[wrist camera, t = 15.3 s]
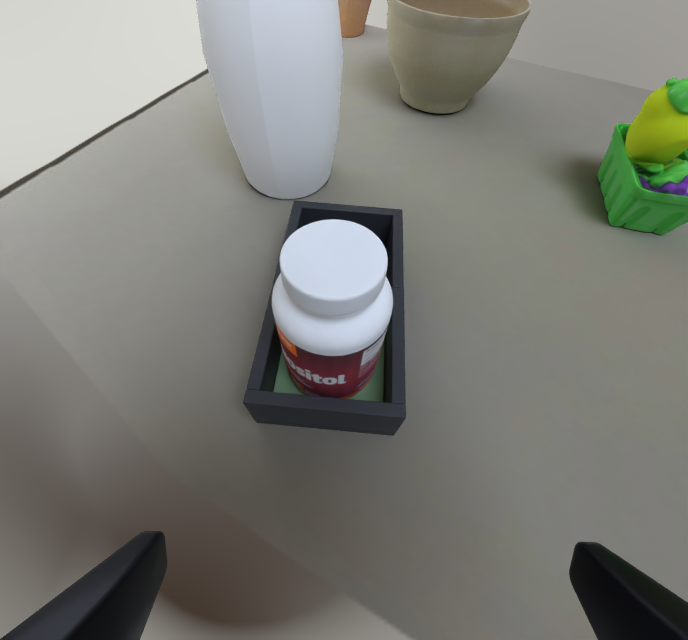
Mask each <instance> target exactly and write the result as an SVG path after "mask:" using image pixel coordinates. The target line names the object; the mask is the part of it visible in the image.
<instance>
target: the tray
mask: <svg viewBox="0 0 688 640" xmlns="http://www.w3.org/2000/svg"><path fill="white" fill-rule="evenodd" d="M331 219H337V220H346V221H351V222H354V223H357V224H360V225H362V226H364V227H366V228H368V229H369V230H371V231H372V232H373V233H374V234H375V235H376V236H377V237H378V238H379V239H380V240H381V242H382V243H383V245H384V247H385V249H386V252H387V257H388V265H387V272H386V277H387V279H388V281H389V284H390V286H391V289H392V294H393V309H392V314H391V317H390V321H389V325H388V328H387V331H386V334H385V337H384V341H383V344H382V347H381V351H380V354H379V357H378V361H377V364H376V368H375V371H374V374H373V376H372V378H371V380H370V382H369V383H368V385H367V386H366V387H365V388H364V389H363V390H362V391H361V392H360V393H359V394H357V395H356V396H354V397H352V398H350V399H343V398H332V397H321V396H311V395H305V394H303V393H302V392H301V391H300V390H299V389H298V388H297V387H296V386H295V385H294V383H293V382H292V380H291V378H290V376H289V373H288V370H287V366H286V362H285V358H284V354H283V350H282V346H281V342H280V338H279V335H278V331H277V326H276V323H275V318H274V314H273V309H272V293H273V288H274V285H275V282H276V280H277V278H278V276H279V275H280V273H281V269H280V258H279V262H278V266H277V270H276V274H275V278H274V282H273V287H272V290H271V294H270V298H269V302H268V306H267V310H266V314H265V318H264V322H263V326H262V330H261V334H260V338H259V342H258V346H257V350H256V354H255V358H254V362H253V366H252V370H251V374H250V378H249V382H248V385H247V390H246V393H245V397H244V401H243V403H244V405H245V406H246V408H247V409H248V411H249V412H250V413H251V415H252V416H253V418H254V419H255V421H256V422H257V423H267V424H277V425H288V426H299V427H309V428H320V429H330V430H341V431H351V432H362V433H372V434H383V435H394V434H395V433H396V431H397V430H398V428H399V427H400V425H401V424H402V422H403V421H404V419H405V418H406V405H405V403H406V402H405V340H404V289H403V288H404V283H403V221H402V210H400V209H388V208H376V207H364V206H353V205H341V204H329V203H317V202H305V201H294V203H293V207H292V211H291V215H290V219H289V223H288V226H287V230H286V234H285V238H284V242H283V245H284V243H285V241H286V240H287V239H288V238H289V237H290V235H292V234H293V233H294V232H295V231H296V230H298V229H300V228H301V227H303V226H305V225H308V224H310V223H313V222H317V221H321V220H331ZM282 247H283V246H282Z"/></svg>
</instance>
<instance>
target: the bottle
mask: <svg viewBox="0 0 688 640" xmlns="http://www.w3.org/2000/svg"><path fill="white" fill-rule="evenodd" d="M196 4H197V12H198V19H199V26H200V33H201V41H202V48H203V54H204V57H205V60H206V64H207V67H208V70H209V74H210V77H211V80H212V83H213V87H214V90H215V93H216V96H217V100H218V103H219V106H220V109H221V113H222V116H223V119H224V122H225V126H226V128H227V131H228V134H229V137H230V139H231V141H232V144H233V146H234V149H235V151H236V153H237V156H238V158H239V161H240V163H241V166H242V168H243V170H244V173H245V175H246V178H247V180H248V182H249V183H250V184H251V185H252V186H253V187H254V188H255V189H257V190H258V191H259V192H261V193H263V194H265V195H267V196H269V197H274V198H279V199H297V198H301V197H306V196H308V195H310V194H312V193H315V192H317V191H318V190H319V189H320V188H321V187H322V186H323V185H324V184H325V183H326V182H327V180H328V178H329V176H330V174H331V169H332V163H333V157H334V151H335V145H336V139H337V133H338V127H339V112H340V97H341V82H342V67H343V48H342V37H341V27H340V16H339V6H338V0H196Z"/></svg>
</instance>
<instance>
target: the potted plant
mask: <svg viewBox="0 0 688 640" xmlns="http://www.w3.org/2000/svg"><path fill="white" fill-rule="evenodd" d="M370 3H371V0H338V6H339V16H340V27H341V36H342V37H356V36H359V35H361V34H363V32H364V27H365V22H366V18H367V14H368V11H369V6H370Z"/></svg>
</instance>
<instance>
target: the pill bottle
mask: <svg viewBox="0 0 688 640" xmlns="http://www.w3.org/2000/svg"><path fill="white" fill-rule="evenodd" d="M387 265H388V257H387V252H386V249H385V247H384V245H383V243H382V242H381V240H380V239H379V238H378V237H377V236H376V235H375V234H374V233H373V232H372V231H371V230H369V229H368V228H366V227H364V226H362V225H360V224H357V223H354V222H351V221H346V220H337V219H331V220H321V221H317V222H313V223H310V224H308V225H305V226H303V227H301V228H300V229H298V230H296V231H295V232H294V233H293V234H292V235H290V237H289V238H288V239H287V240H286V241H285V243H284V245H283V247H282V250H281V253H280V269H281V273H280V275H279V276H278V278H277V280H276V282H275V285H274V288H273V293H272V309H273V314H274V318H275V323H276V326H277V331H278V335H279V338H280V342H281V346H282V350H283V354H284V358H285V362H286V366H287V370H288V373H289V376H290V378H291V380H292V382H293V383H294V385H295V386H296V387H297V388H298V389H299V390H300V391H301V392H302V393H303V394H305V395H311V396H321V397H332V398H343V399H350V398H352V397H354V396H356V395H357V394H359V393H360V392H361V391H362V390H363V389H364V388H365V387H366V386H367V385H368V383H369V382H370V380H371V378H372V376H373V374H374V371H375V368H376V364H377V361H378V357H379V354H380V351H381V347H382V344H383V341H384V337H385V334H386V331H387V328H388V325H389V321H390V317H391V314H392V309H393V294H392V289H391V286H390V284H389V281H388V279H387V277H386V272H387Z"/></svg>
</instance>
